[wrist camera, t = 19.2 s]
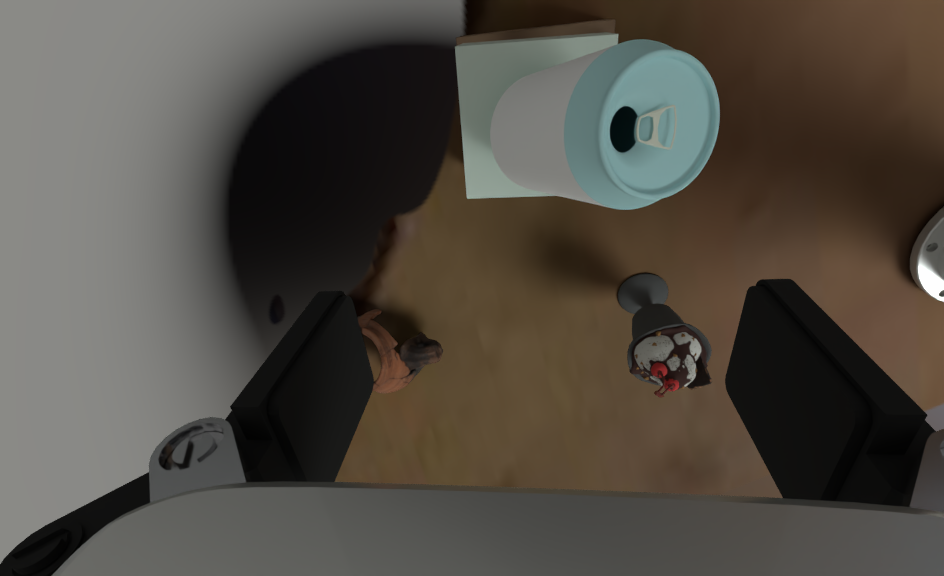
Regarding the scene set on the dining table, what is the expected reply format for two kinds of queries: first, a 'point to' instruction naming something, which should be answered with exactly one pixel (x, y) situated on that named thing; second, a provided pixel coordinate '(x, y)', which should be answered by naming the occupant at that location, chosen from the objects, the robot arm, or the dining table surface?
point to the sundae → (662, 338)
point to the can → (609, 126)
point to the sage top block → (485, 81)
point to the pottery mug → (398, 354)
